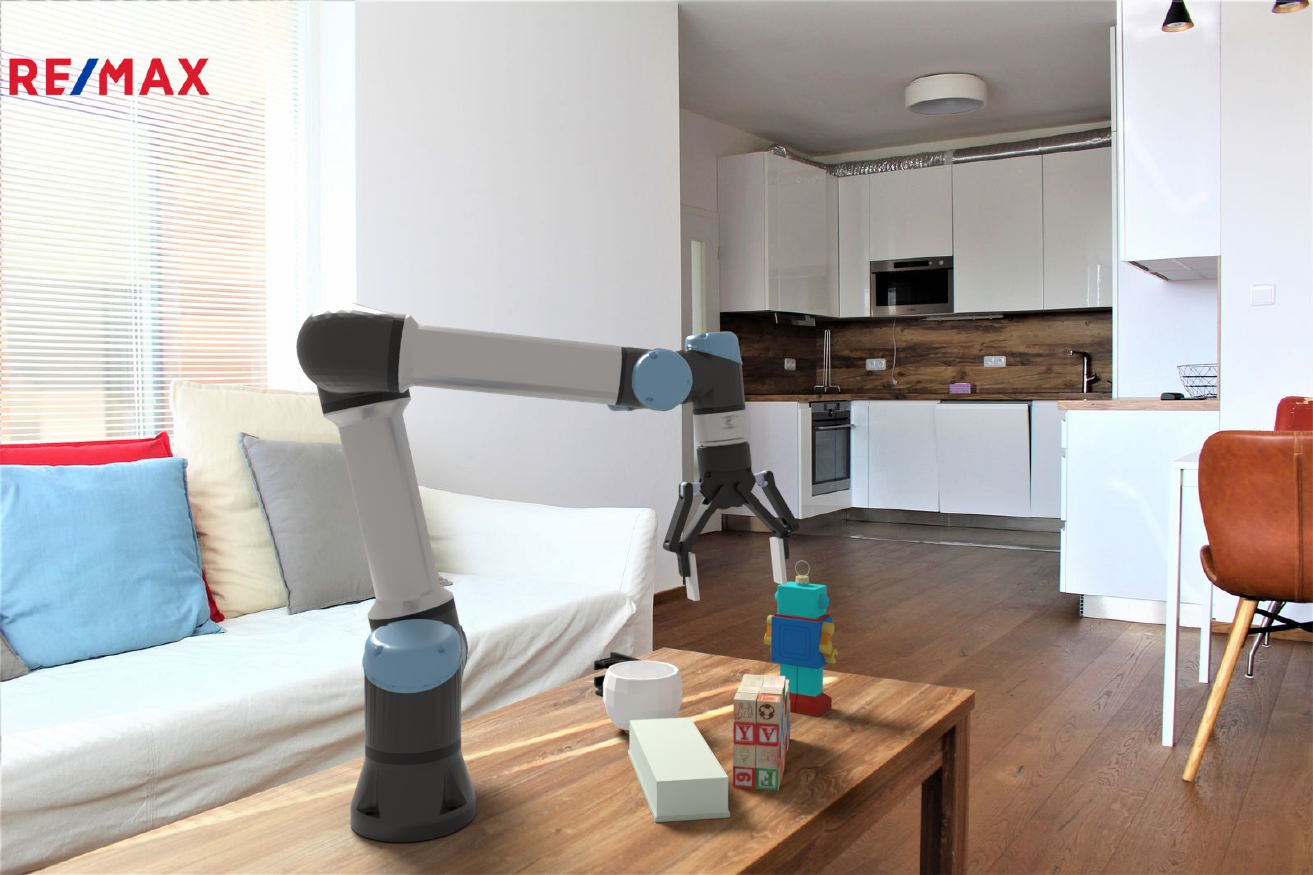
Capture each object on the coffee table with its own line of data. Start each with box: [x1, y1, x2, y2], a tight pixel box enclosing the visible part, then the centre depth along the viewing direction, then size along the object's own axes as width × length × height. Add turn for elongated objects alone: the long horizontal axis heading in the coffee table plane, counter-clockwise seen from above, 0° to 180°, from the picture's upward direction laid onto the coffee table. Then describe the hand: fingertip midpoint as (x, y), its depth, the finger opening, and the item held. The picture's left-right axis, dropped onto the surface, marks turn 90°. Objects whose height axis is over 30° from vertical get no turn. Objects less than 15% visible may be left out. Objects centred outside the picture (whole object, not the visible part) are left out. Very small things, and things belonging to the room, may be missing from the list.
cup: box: [602, 660, 683, 735], centre depth 161 cm, size 12×12×10 cm
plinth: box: [627, 716, 731, 823], centre depth 139 cm, size 9×24×5 cm, turn 9°
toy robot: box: [763, 560, 839, 717], centre depth 172 cm, size 12×6×25 cm, turn 58°
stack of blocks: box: [732, 673, 791, 791], centre depth 148 cm, size 21×6×12 cm, turn 169°
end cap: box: [593, 651, 644, 698], centre depth 179 cm, size 10×7×7 cm
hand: (737, 591), depth 146 cm, fingers open, 13 cm apart
